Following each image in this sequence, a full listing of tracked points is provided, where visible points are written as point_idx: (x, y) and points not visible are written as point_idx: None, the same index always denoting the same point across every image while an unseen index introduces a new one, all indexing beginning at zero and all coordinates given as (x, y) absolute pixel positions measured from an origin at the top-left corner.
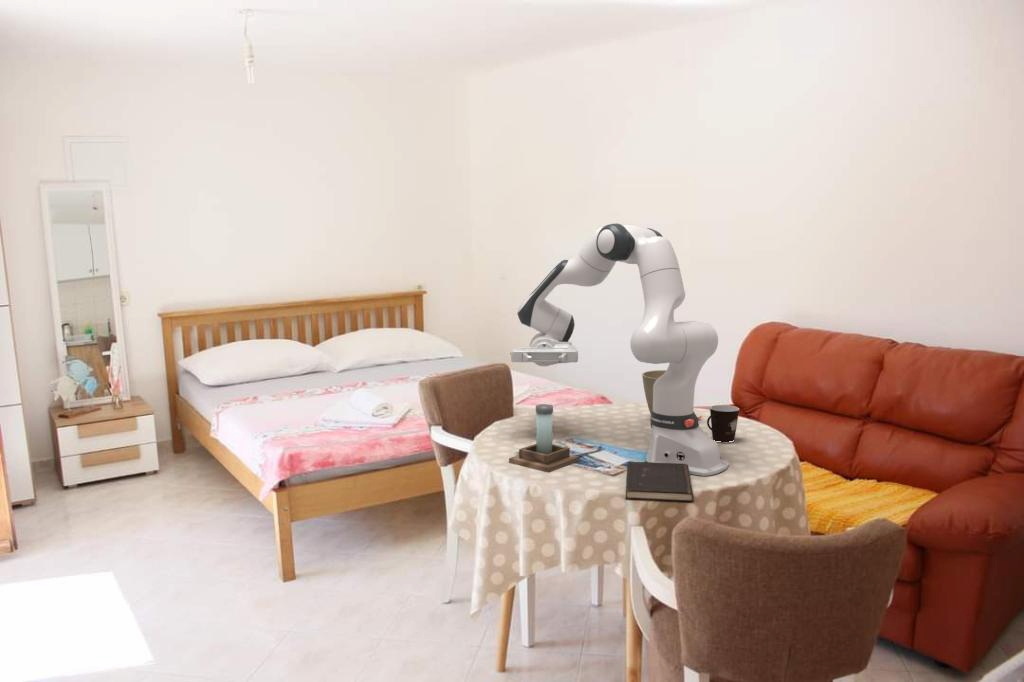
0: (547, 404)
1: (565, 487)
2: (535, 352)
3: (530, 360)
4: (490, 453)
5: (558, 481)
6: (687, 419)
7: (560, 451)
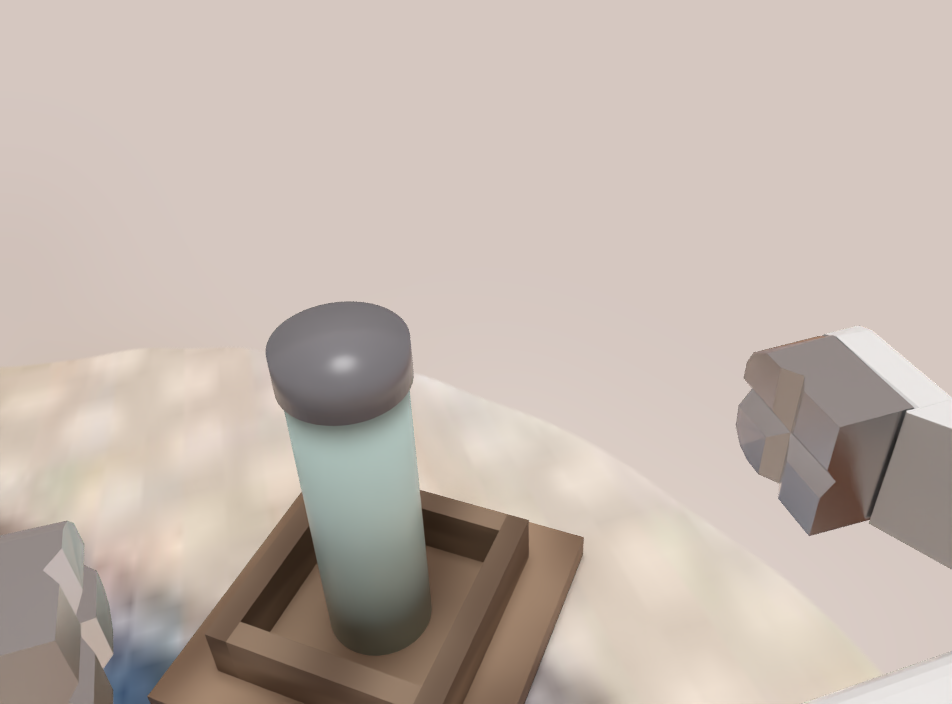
0: (321, 384)
1: (227, 360)
2: (942, 663)
3: (757, 406)
4: (793, 683)
5: (262, 402)
6: None
7: (263, 556)
